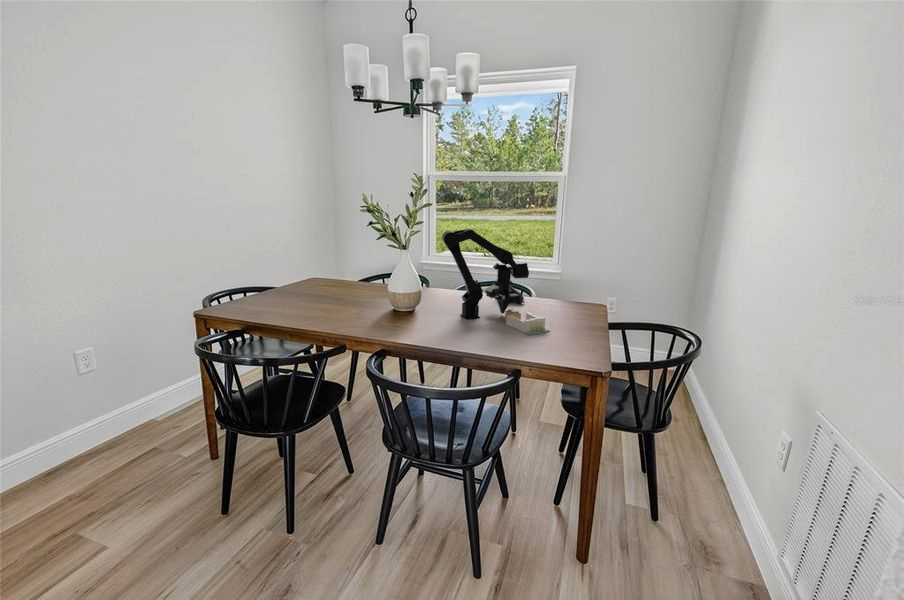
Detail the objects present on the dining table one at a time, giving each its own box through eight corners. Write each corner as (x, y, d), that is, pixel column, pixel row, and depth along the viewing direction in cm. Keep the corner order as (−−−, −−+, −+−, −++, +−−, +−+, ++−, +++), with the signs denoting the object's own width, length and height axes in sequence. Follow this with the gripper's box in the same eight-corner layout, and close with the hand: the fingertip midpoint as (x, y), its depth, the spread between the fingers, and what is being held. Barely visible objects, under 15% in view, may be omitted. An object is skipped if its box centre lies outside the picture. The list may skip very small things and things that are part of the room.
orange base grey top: (511, 323, 177) (512, 312, 176) (505, 319, 181) (505, 309, 180) (520, 321, 179) (521, 311, 178) (513, 318, 183) (514, 308, 182)
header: (528, 335, 162) (528, 323, 161) (505, 324, 175) (506, 312, 173) (551, 331, 167) (552, 318, 166) (527, 320, 180) (528, 308, 179)
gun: (515, 314, 206) (525, 298, 201) (491, 295, 212) (499, 279, 207) (518, 313, 208) (527, 297, 203) (494, 294, 214) (502, 278, 209)
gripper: (476, 276, 186) (475, 310, 191) (500, 285, 170) (499, 321, 175) (497, 273, 191) (496, 306, 196) (522, 282, 175) (520, 318, 180)
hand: (502, 313), depth 186 cm, fingers closed
